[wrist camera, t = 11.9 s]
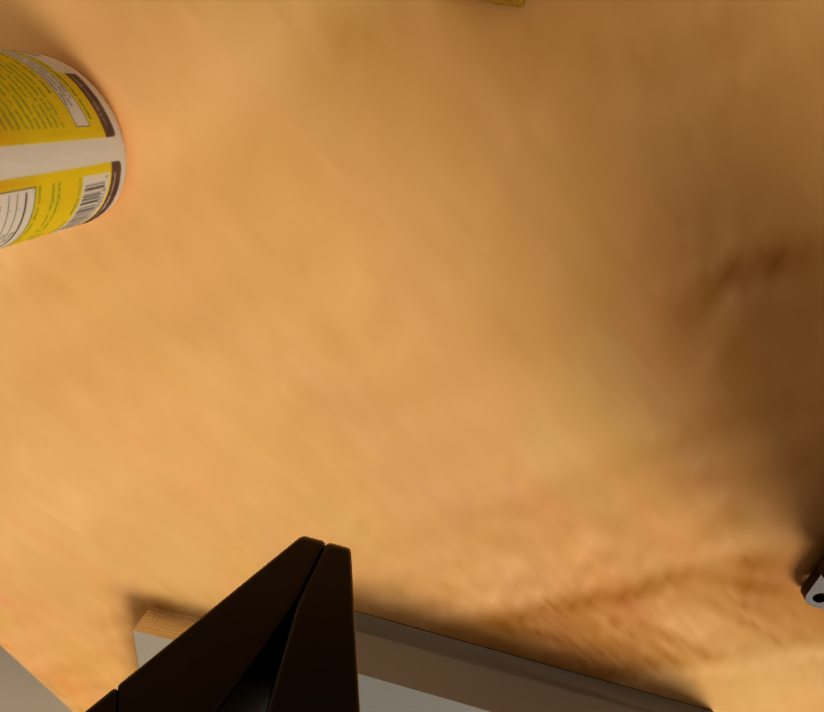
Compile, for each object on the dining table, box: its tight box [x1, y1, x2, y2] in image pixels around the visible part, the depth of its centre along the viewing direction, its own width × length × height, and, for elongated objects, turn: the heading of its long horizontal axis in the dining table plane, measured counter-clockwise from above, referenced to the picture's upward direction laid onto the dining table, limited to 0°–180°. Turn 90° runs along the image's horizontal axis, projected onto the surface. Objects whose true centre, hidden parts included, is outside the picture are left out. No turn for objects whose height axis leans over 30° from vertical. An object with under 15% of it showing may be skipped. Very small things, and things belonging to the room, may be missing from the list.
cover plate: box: [133, 606, 200, 668], centre depth 31 cm, size 10×9×2 cm
